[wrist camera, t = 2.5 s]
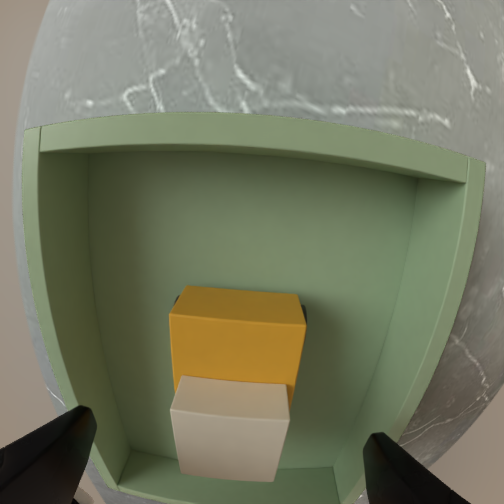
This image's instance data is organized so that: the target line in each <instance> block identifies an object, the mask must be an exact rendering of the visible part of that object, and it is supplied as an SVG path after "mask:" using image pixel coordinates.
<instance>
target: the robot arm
mask: <svg viewBox="0 0 504 504" xmlns="http://www.w3.org/2000/svg"><path fill="white" fill-rule="evenodd" d="M96 431H97V422H96V419H95V417H94V414H93V411H92V409H91V408H89V407H86V406H83V405H78V406H76V407H75V408H73V409H71V410H69V411H68V412H66V413H64V414H63V415H61V416H59V417H57V418H56V419H54V420H52V421H50V422H49V423H47V424H45V425H43V426H42V427H40V428H38V429H36V430H34V431H33V432H31V433H29V434H27V435H25V436H24V437H22V438H20V439H18V440H16V441H14V442H12V443H11V444H9V445H7V446H5V448H4V447H3V448H1V449H0V504H79V503H78V502H77V501H76V500H75V499H74V498H73V497H74V495H75V492H76V490H77V487H78V485H79V482H80V480H81V477H82V475H83V472H84V470H85V467H86V465H87V462H88V459H89V455H90V451H91V448H92V444H93V441H94V438H95V434H96ZM363 461H364V471H365V481H366V490H367V495H368V499H369V504H471V503H469V502H468V501H466V500H465V499H464V498H462V497H461V496H459V495H458V494H457V493H456V492H454V491H453V490H451V489H450V488H449V487H448V486H447V485H446V484H444V483H443V482H442V481H441V480H439V479H438V478H437V477H436V476H435V475H433V474H432V473H431V472H430V471H429V470H427V469H426V468H425V467H424V466H423V465H421V464H420V463H419V462H418V461H417V460H416V459H414V458H413V457H412V456H411V455H410V454H408V453H407V452H406V451H405V450H404V449H403V448H402V447H400V446H399V445H398V444H397V443H396V442H395V441H393V440H392V439H391V438H390V437H389V436H388V435H387V434H386V433H384V432H376V433H372V434H371V435H370V436H369V438H368V440H367V442H366V444H365V445H364V448H363Z"/></svg>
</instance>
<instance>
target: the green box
mask: <svg viewBox="0 0 504 504" xmlns="http://www.w3.org/2000/svg"><path fill="white" fill-rule="evenodd" d="M485 170H486V163H485V162H483V161H480V160H477V159H474V158H472V157H468V156H466V155H463V154H460V153H457V152H454V151H451V150H448V149H444V148H441V147H438V146H434V145H431V144H427V143H424V142H420V141H416V140H412V139H408V138H404V137H400V136H396V135H392V134H388V133H383V132H379V131H374V130H369V129H364V128H359V127H353V126H348V125H342V124H336V123H330V122H323V121H316V120H308V119H300V118H292V117H282V116H272V115H259V114H244V113H221V112H165V113H143V114H128V115H116V116H106V117H97V118H89V119H81V120H74V121H68V122H61V123H55V124H50V125H44V126H40V127H35V128H30V129H26V130H25V131H24V142H23V159H22V207H23V224H24V237H25V246H26V255H27V263H28V269H29V276H30V282H31V288H32V293H33V298H34V303H35V308H36V312H37V316H38V321H39V325H40V329H41V332H42V336H43V340H44V343H45V347H46V350H47V354H48V357H49V360H50V363H51V366H52V369H53V372H54V375H55V378H56V381H57V383H58V386H59V389H60V392H61V394H62V397H63V399H64V402H65V404H66V407H67V409H68V411H69V410H71V409H73V408H75V407H76V406H78V405H83V406H86V407H89V408H91V409H92V411H93V414H94V417H95V419H96V422H97V431H96V434H95V438H94V441H93V444H92V448H91V451H90V457H91V459H92V461H93V463H94V464H95V466H96V468H97V470H98V471H99V473H100V475H101V477H102V478H103V480H104V482H105V483H106V485H107V486H108V488H111V489H114V490H118V491H121V492H124V493H128V494H131V495H135V496H139V497H143V498H146V499H151V500H155V501H159V502H164V503H169V504H354V502H355V501H356V500H357V499H358V497H359V496H360V495H361V494H362V492H363V491H364V490H365V489H366V481H365V471H364V461H363V448H364V445H365V444H366V442H367V440H368V438H369V436H370V435H371V434H372V433H376V432H384V433H386V434H387V435H388V436H389V437H390V438H391V439H392V440H393V441H395V442H396V443H397V442H398V440H399V439H400V437H401V436H402V434H403V432H404V430H405V429H406V427H407V425H408V424H409V422H410V420H411V418H412V416H413V415H414V413H415V411H416V409H417V407H418V405H419V403H420V401H421V399H422V397H423V395H424V393H425V391H426V389H427V387H428V385H429V383H430V381H431V379H432V377H433V374H434V372H435V370H436V368H437V365H438V363H439V361H440V358H441V356H442V353H443V351H444V348H445V346H446V343H447V341H448V338H449V335H450V333H451V330H452V327H453V324H454V321H455V318H456V315H457V312H458V309H459V306H460V303H461V300H462V296H463V293H464V289H465V286H466V282H467V278H468V274H469V270H470V266H471V262H472V258H473V253H474V249H475V244H476V239H477V233H478V228H479V222H480V215H481V208H482V201H483V192H484V182H485ZM187 285H190V286H201V287H211V288H223V289H234V290H247V291H260V292H273V293H288V294H297V295H298V297H299V300H300V304H301V305H304V306H305V307H306V311H307V332H306V339H305V343H304V346H303V351H302V356H301V361H300V366H299V371H298V376H297V381H296V385H295V390H294V394H293V399H292V403H291V408H290V412H289V413H290V424H289V428H288V432H287V436H286V439H285V443H284V447H283V451H282V454H281V458H280V461H279V465H278V469H277V472H276V475H275V479H274V481H273V482H257V481H239V480H226V479H216V478H208V477H200V476H193V475H187V474H182V473H181V471H180V466H179V461H178V456H177V450H176V445H175V439H174V433H173V427H172V420H171V413H170V408H171V405H172V402H173V399H174V396H175V389H174V379H173V368H172V356H171V342H170V326H169V314H170V312H171V310H172V308H173V306H174V302H175V300H176V298H177V296H178V295H181V293H182V292H183V290H184V288H185V287H186V286H187Z"/></svg>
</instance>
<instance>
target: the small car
mask: <svg viewBox="0 0 504 504" xmlns="http://www.w3.org/2000/svg"><path fill="white" fill-rule="evenodd" d="M169 326H170V342H171V356H172V368H173V379H174V389H175V396H174V399H173V402H172V405H171V408H170V413H171V420H172V427H173V433H174V439H175V445H176V450H177V456H178V461H179V466H180V471H181V473H182V474H187V475H193V476H200V477H208V478H216V479H226V480H239V481H257V482H273V481H274V479H275V475H276V472H277V469H278V465H279V461H280V458H281V454H282V451H283V447H284V443H285V439H286V436H287V432H288V428H289V424H290V413H289V412H290V408H291V403H292V399H293V394H294V390H295V385H296V381H297V376H298V371H299V366H300V361H301V356H302V351H303V346H304V343H305V339H306V332H307V311H306V307H305V306H304V305H301V304H300V300H299V297H298V295H297V294H288V293H273V292H260V291H247V290H234V289H223V288H211V287H201V286H190V285H187V286H186V287H185V288H184V290H183V292H182V293H181V295H178V296H177V298H176V300H175V302H174V306H173V308H172V310H171V312H170V314H169Z"/></svg>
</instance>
